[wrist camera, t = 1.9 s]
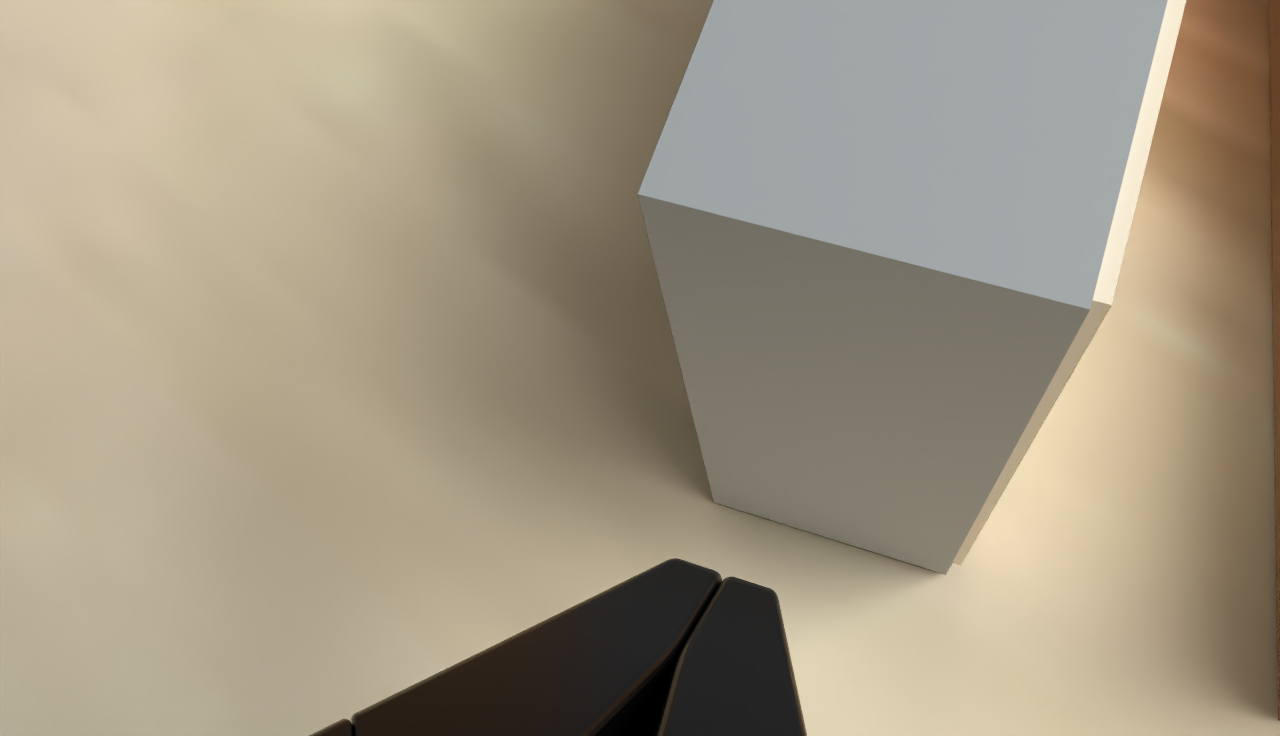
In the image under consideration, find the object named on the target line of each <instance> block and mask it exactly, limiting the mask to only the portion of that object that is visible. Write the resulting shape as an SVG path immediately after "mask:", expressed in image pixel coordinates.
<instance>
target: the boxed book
mask: <svg viewBox="0 0 1280 736" xmlns="http://www.w3.org/2000/svg"><path fill="white" fill-rule="evenodd" d="M1185 4H1186V0H714V1H713V4H712V6H711V9H710V11H709V14H708V17H707V19H706V22H705V24H704V27H703V29H702V32H701V34H700V37H699V39H698V42H697V44H696V47H695V50H694V52H693V55H692V57H691V60H690V62H689V65H688V67H687V70H686V72H685V75H684V77H683V80H682V83H681V85H680V88H679V90H678V93H677V95H676V98H675V100H674V103H673V105H672V108H671V110H670V113H669V116H668V118H667V121H666V123H665V126H664V128H663V131H662V133H661V136H660V138H659V141H658V143H657V146H656V149H655V151H654V154H653V156H652V159H651V161H650V164H649V166H648V169H647V171H646V174H645V176H644V179H643V182H642V184H641V187H640V189H639V192H638V198H639V202H640V206H641V210H642V214H643V218H644V222H645V226H646V230H647V234H648V238H649V242H650V246H651V250H652V254H653V258H654V262H655V266H656V270H657V274H658V279H659V283H660V287H661V291H662V295H663V299H664V303H665V307H666V311H667V315H668V319H669V323H670V327H671V331H672V335H673V339H674V343H675V347H676V351H677V355H678V359H679V363H680V367H681V372H682V376H683V380H684V384H685V388H686V392H687V396H688V400H689V404H690V408H691V412H692V416H693V420H694V424H695V428H696V432H697V436H698V440H699V444H700V448H701V452H702V456H703V461H704V465H705V469H706V473H707V477H708V481H709V485H710V489H711V493H712V497H713V501H714V502H715V503H718V504H721V505H724V506H728V507H731V508H734V509H737V510H740V511H744V512H747V513H750V514H753V515H756V516H760V517H763V518H766V519H769V520H772V521H776V522H779V523H782V524H785V525H788V526H792V527H795V528H798V529H801V530H804V531H808V532H811V533H814V534H817V535H820V536H824V537H827V538H830V539H833V540H836V541H840V542H843V543H846V544H849V545H852V546H856V547H859V548H862V549H865V550H868V551H872V552H875V553H878V554H881V555H884V556H888V557H891V558H894V559H897V560H900V561H904V562H907V563H910V564H913V565H916V566H920V567H923V568H926V569H929V570H932V571H936V572H939V573H942V574H945V575H946V573H947V571H948V569H949V568H950V566H951V564H952V563H954V564H958V565H961V564H962V562H963V560H964V559H965V557H966V555H967V554H968V552H969V550H970V548H971V547H972V545H973V543H974V541H975V540H976V538H977V536H978V535H979V533H980V531H981V529H982V528H983V526H984V524H985V523H986V521H987V519H988V517H989V516H990V514H991V512H992V510H993V509H994V507H995V505H996V504H997V502H998V500H999V498H1000V497H1001V495H1002V493H1003V491H1004V490H1005V488H1006V486H1007V485H1008V483H1009V481H1010V479H1011V478H1012V476H1013V474H1014V473H1015V471H1016V469H1017V467H1018V466H1019V464H1020V462H1021V460H1022V459H1023V457H1024V455H1025V454H1026V452H1027V450H1028V448H1029V447H1030V445H1031V443H1032V442H1033V440H1034V438H1035V436H1036V435H1037V433H1038V431H1039V429H1040V428H1041V426H1042V424H1043V423H1044V421H1045V419H1046V417H1047V416H1048V414H1049V412H1050V411H1051V409H1052V407H1053V405H1054V404H1055V402H1056V400H1057V398H1058V397H1059V395H1060V393H1061V392H1062V390H1063V388H1064V386H1065V385H1066V383H1067V381H1068V380H1069V378H1070V376H1071V374H1072V373H1073V371H1074V369H1075V367H1076V366H1077V364H1078V362H1079V361H1080V359H1081V357H1082V355H1083V354H1084V352H1085V350H1086V348H1087V347H1088V345H1089V343H1090V342H1091V340H1092V338H1093V336H1094V335H1095V333H1096V331H1097V330H1098V328H1099V326H1100V324H1101V323H1102V321H1103V319H1104V317H1105V316H1106V314H1107V312H1108V311H1109V309H1110V307H1111V305H1112V302H1113V298H1114V294H1115V290H1116V286H1117V281H1118V277H1119V273H1120V269H1121V265H1122V261H1123V257H1124V253H1125V249H1126V245H1127V241H1128V237H1129V232H1130V228H1131V224H1132V220H1133V216H1134V212H1135V208H1136V204H1137V200H1138V196H1139V192H1140V188H1141V183H1142V179H1143V175H1144V171H1145V167H1146V163H1147V159H1148V155H1149V151H1150V147H1151V143H1152V139H1153V134H1154V130H1155V126H1156V122H1157V118H1158V114H1159V110H1160V106H1161V102H1162V98H1163V94H1164V90H1165V85H1166V81H1167V77H1168V73H1169V69H1170V65H1171V61H1172V57H1173V53H1174V49H1175V45H1176V41H1177V37H1178V32H1179V28H1180V24H1181V20H1182V16H1183V12H1184V8H1185Z"/></svg>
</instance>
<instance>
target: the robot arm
mask: <svg viewBox="0 0 1280 736" xmlns="http://www.w3.org/2000/svg"><path fill="white" fill-rule="evenodd" d="M310 736H807V733H806V729H805V724H804V719H803V714H802V710H801V705H800V700H799V695H798V690H797V686H796V681H795V676H794V671H793V667H792V662H791V657H790V652H789V648H788V643H787V638H786V633H785V629H784V624H783V619H782V614H781V610H780V605H779V600H778V597H777V595H776V593H775V592H774V591H773V590H772V589H770V588H767V587H763V586H760V585H757V584H754V583H751V582H748V581H745V580H742V579H739V578H735V577H728V578H725V579H724V580H723V581H722V578H721V575H720V574H719V573H718V572H716V571H714V570H711V569H708V568H705V567H702V566H699V565H696V564H693V563H690V562H687V561H684V560H680V559H670V560H667V561H665V562H663V563H661V564H659V565H657V566H655V567H653V568H651V569H649V570H647V571H645V572H643V573H641V574H639V575H637V576H634V577H632V578H630V579H628V580H626V581H624V582H622V583H620V584H618V585H616V586H614V587H612V588H610V589H608V590H606V591H604V592H602V593H600V594H598V595H596V596H594V597H592V598H590V599H588V600H586V601H584V602H582V603H579V604H577V605H575V606H573V607H571V608H569V609H567V610H565V611H563V612H561V613H559V614H557V615H555V616H553V617H551V618H549V619H547V620H545V621H543V622H541V623H539V624H537V625H535V626H533V627H531V628H529V629H527V630H524V631H522V632H520V633H518V634H516V635H514V636H512V637H510V638H508V639H506V640H504V641H502V642H500V643H498V644H496V645H494V646H492V647H490V648H488V649H486V650H484V651H482V652H480V653H478V654H476V655H474V656H471V657H469V658H467V659H465V660H463V661H461V662H459V663H457V664H455V665H453V666H451V667H449V668H447V669H445V670H443V671H441V672H439V673H437V674H435V675H433V676H431V677H429V678H427V679H425V680H423V681H421V682H419V683H416V684H414V685H412V686H410V687H408V688H406V689H404V690H402V691H400V692H398V693H396V694H394V695H392V696H390V697H388V698H386V699H384V700H382V701H380V702H378V703H376V704H374V705H372V706H370V707H368V708H366V709H364V710H361V711H359V712H357V713H355V714H354V715H353V716H352V719H351V722H350V721H349V720H348V719H342V720H340V721H338V722H336V723H334V724H332V725H330V726H328V727H326V728H324V729H322V730H320V731H318V732H316V733H314V734H312V735H310Z"/></svg>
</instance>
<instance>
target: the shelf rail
mask: <svg viewBox="0 0 1280 736" xmlns="http://www.w3.org/2000/svg"><path fill="white" fill-rule="evenodd" d="M1269 25H1270V104H1271V183H1272V262H1273V341H1274V420H1275V499H1276V578H1277V657H1278V720H1280V0H1269Z"/></svg>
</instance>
